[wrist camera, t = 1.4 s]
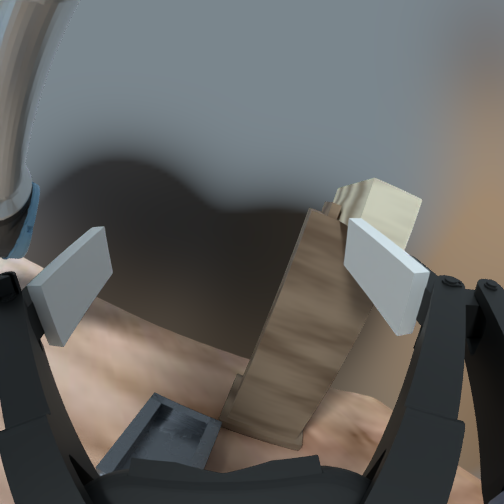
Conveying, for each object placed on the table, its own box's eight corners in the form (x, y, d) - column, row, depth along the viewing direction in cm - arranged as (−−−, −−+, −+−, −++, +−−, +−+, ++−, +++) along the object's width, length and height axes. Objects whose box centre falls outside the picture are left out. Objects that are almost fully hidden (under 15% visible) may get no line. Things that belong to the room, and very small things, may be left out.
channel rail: (150, 412, 33) (154, 392, 32) (214, 440, 32) (222, 422, 31) (60, 532, 12) (53, 520, 11) (152, 580, 11) (156, 576, 10)
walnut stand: (235, 378, 47) (306, 194, 40) (301, 401, 46) (384, 225, 39) (216, 424, 35) (307, 192, 28) (298, 450, 34) (414, 236, 27)
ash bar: (328, 214, 41) (338, 188, 40) (354, 224, 41) (363, 198, 40) (355, 230, 20) (374, 177, 19) (404, 251, 20) (422, 199, 19)
